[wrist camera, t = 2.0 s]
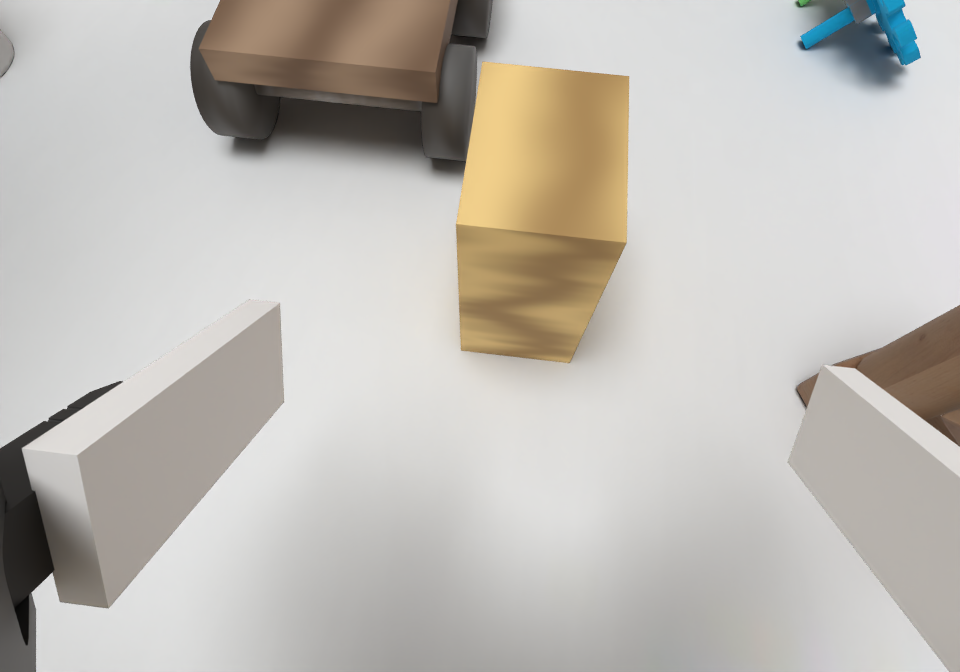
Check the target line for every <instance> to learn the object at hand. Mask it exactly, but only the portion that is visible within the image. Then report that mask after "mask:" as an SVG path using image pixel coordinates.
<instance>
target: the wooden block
mask: <svg viewBox="0 0 960 672" xmlns="http://www.w3.org/2000/svg"><path fill="white" fill-rule="evenodd" d="M832 366H838V367H847V368H855V369H856V370H858V371H859V372H860V373H862V374H863V375H864V376H866V377H867V378H868V379H870V380H871V381H872V382H874V383H875V384H876V385H878V386H879V387H880V388H882V389H883V390H885V391H886V392H887V393H889V394H890V395H891V396H893V397H894V398H895V399H897V400H898V401H899V402H901V403H902V404H903V405H905V406H906V407H907V408H909V409H910V410H911V411H913V412H914V413H915V414H917V415H918V416H919V417H921V418H922V419H923V420H925V421H926V422H927V423H929V424H930V425H931V426H933V427H934V428H935V429H937V430H938V431H939V432H941V433H942V434H943V435H945V436H946V437H947V438H949V439H950V440H951V441H953V442H954V443H955V444H957V445H958V446H959V447H960V305H959V306H957V307H955V308H954V309H952V310H950V311H948V312H946V313H945V314H943V315H941V316H939V317H937V318H935V319H934V320H932V321H930V322H928V323H926V324H924V325H923V326H921V327H919V328H917V329H915V330H914V331H912V332H910V333H908V334H906V335H904V336H903V337H901V338H899V339H897V340H895V341H894V342H892V343H890V344H888V345H886V346H884V347H883V348H880V349H877V350H874V351H871V352H868V353H865V354H862V355H859V356H856V357H853V358H851V359H848V360H845V361H842V362H839V363H836V364H833V365H832ZM819 373H820V372H819ZM819 373H818V374H816V375H814V376H813V377H811V378H809V379H807V380H806V381H804V382H802V383H800V384H799V386H798V387H797V389H798V392H799V394H800V396H801V397H802V399H803V401H804V402H805V404H806V406H808V404H809V401H810V398H811V395H812V392H813V389H814V387H815V384H816V381H817V378H818V375H819ZM941 415H942V416H941Z"/></svg>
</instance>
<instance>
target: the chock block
mask: <svg viewBox="0 0 960 672" xmlns="http://www.w3.org/2000/svg"><path fill="white" fill-rule="evenodd" d="M628 119H629V76H621V75H611V74H601V73H591V72H581V71H571V70H561V69H551V68H541V67H531V66H521V65H511V64H501V63H492V62H482V68H481V74H480V80H479V86H478V92H477V98H476V105H475V111H474V117H473V123H472V129H471V135H470V142H469V148H468V154H467V160H466V166H465V172H464V179H463V185H462V191H461V197H460V203H459V209H458V216H457V222H456V233H457V260H458V286H459V312H460V338H461V350H462V351H470V352H479V353H487V354H496V355H505V356H513V357H522V358H530V359H539V360H547V361H556V362H565V363H570V361H571V359H572V357H573V355H574V353H575V350H576V348H577V346H578V344H579V342H580V340H581V338H582V336H583V334H584V331H585V329H586V327H587V325H588V323H589V321H590V319H591V317H592V315H593V312H594V310H595V308H596V306H597V304H598V302H599V300H600V298H601V296H602V293H603V291H604V289H605V287H606V285H607V283H608V281H609V279H610V277H611V274H612V272H613V270H614V268H615V266H616V264H617V262H618V260H619V258H620V255H621V253H622V251H623V249H624V247H625V245H626V243H627V182H628Z"/></svg>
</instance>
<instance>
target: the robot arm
mask: <svg viewBox="0 0 960 672" xmlns="http://www.w3.org/2000/svg"><path fill="white" fill-rule="evenodd" d="M283 403H284V388H283V365H282V341H281V317H280V303H277V302H268V301H259V300H250V299H249V300H248V301H246V302H245V303H243V304H242V305H240V306H238V307H237V308H235V309H234V310H232V311H231V312H229V313H228V314H226V315H225V316H223V317H222V318H220V319H219V320H217V321H216V322H214V323H213V324H211V325H209V326H208V327H206V328H205V329H203V330H202V331H200V332H199V333H197V334H196V335H194V336H193V337H191V338H190V339H188V340H187V341H185V342H183V343H182V344H180V345H179V346H177V347H176V348H174V349H173V350H171V351H170V352H168V353H167V354H165V355H164V356H162V357H161V358H159V359H158V360H156V361H154V362H153V363H151V364H150V365H148V366H147V367H145V368H144V369H142V370H141V371H139V372H138V373H136V374H135V375H133V376H132V377H130V378H129V379H127V380H125V381H124V382H122V381H119V382H116V383H113V384H111V385H108V386H105V387H103V388H100V389H97V390H94V391H92V392H89V393H88V394H86V395H85V396H83V397H82V398H80V399H78V400H77V401H75V402H74V403H72V404H70V405H69V406H68V408H67V409H62V410H61V411H59V412H58V413H56V414H54V415H53V416H51V417H50V418H49V420H48V422H47V421H43V422H42V423H40V424H39V425H37V426H35V427H34V428H32V429H31V430H29V431H27V432H26V433H24V434H23V435H21V436H19V437H18V438H16V439H15V440H13V441H11V442H10V443H8V444H7V445H5V446H4V447H2V448H0V672H36V608H35V605H34V601H33V597H32V594H31V592H32V591H33V590H34V589H35V588H36V587H38V586H39V585H40V584H41V583H42V582H43V581H44V580H45V579H46V578H47V577H48V576H49V575H50V574H51V573H52V572H53V576H54V580H55V584H56V588H57V592H58V596H59V600H60V602H64V603H71V604H79V605H86V606H94V607H101V608H108V609H109V608H110V606H111V605H112V604H113V603H114V602H115V600H116V599H117V598H118V597H119V596H120V595H121V593H122V592H123V591H124V590H125V589H126V588H127V586H128V585H129V584H130V583H131V582H132V580H133V579H134V578H135V577H136V576H137V575H138V573H139V572H140V571H141V570H142V569H143V568H144V566H145V565H146V564H147V563H148V562H149V560H150V559H151V558H152V557H153V556H154V555H155V553H156V552H157V551H158V550H159V549H160V547H161V546H162V545H163V544H164V543H165V542H166V540H167V539H168V538H169V537H170V536H171V535H172V533H173V532H174V531H175V530H176V529H177V527H178V526H179V525H180V524H181V523H182V522H183V520H184V519H185V518H186V517H187V516H188V514H189V513H190V512H191V511H192V510H193V509H194V507H195V506H196V505H197V504H198V503H199V502H200V500H201V499H202V498H203V497H204V496H205V494H206V493H207V492H208V491H209V490H210V489H211V487H212V486H213V485H214V484H215V483H216V482H217V480H218V479H219V478H220V477H221V476H222V474H223V473H224V472H225V471H226V470H227V469H228V467H229V466H230V465H231V464H232V463H233V461H234V460H235V459H236V458H237V457H238V456H239V454H240V453H241V452H242V451H243V450H244V449H245V447H246V446H247V445H248V444H249V443H250V441H251V440H252V439H253V438H254V437H255V436H256V434H257V433H258V432H259V431H260V430H261V428H262V427H263V426H264V425H265V424H266V423H267V421H268V420H269V419H270V418H271V417H272V416H273V414H274V413H275V412H276V411H277V410H278V408H279V407H280V406H281V405H282V404H283ZM788 464H789V465H790V466H791V467H792V469H793V470H794V471H795V473H796V474H797V475H798V476H799V478H800V479H801V480H802V482H803V483H804V484H805V486H806V487H807V488H808V489H809V491H810V492H811V493H812V495H813V496H814V497H815V499H816V500H817V501H818V502H819V504H820V505H821V506H822V508H823V509H824V510H825V511H826V513H827V514H828V515H829V517H830V518H831V519H832V521H833V522H834V523H835V524H836V526H837V527H838V528H839V530H840V531H841V532H842V534H843V535H844V536H845V537H846V539H847V540H848V541H849V543H850V544H851V545H852V546H853V548H854V549H855V550H856V552H857V553H858V554H859V556H860V557H861V558H862V559H863V561H864V562H865V563H866V565H867V566H868V567H869V568H870V570H871V571H872V572H873V574H874V575H875V576H876V578H877V579H878V580H879V581H880V583H881V584H882V585H883V587H884V588H885V589H886V591H887V592H888V593H889V594H890V596H891V597H892V598H893V600H894V601H895V602H896V603H897V605H898V606H899V607H900V609H901V610H902V611H903V613H904V614H905V615H906V616H907V618H908V619H909V620H910V622H911V623H912V624H913V626H914V627H915V628H916V629H917V631H918V632H919V633H920V635H921V636H922V637H923V638H924V640H925V641H926V642H927V644H928V645H929V646H930V648H931V649H932V650H933V651H934V653H935V654H936V655H937V657H938V658H939V659H940V660H941V662H942V663H943V664H944V666H945V667H946V668H947V670H948V671H949V672H960V447H959V446H958V445H957V444H955V443H954V442H953V441H951V440H950V439H949V438H947V437H946V436H945V435H943V434H942V433H941V432H939V431H938V430H937V429H935V428H934V427H933V426H931V425H930V424H929V423H927V422H926V421H925V420H923V419H922V418H921V417H919V416H918V415H917V414H915V413H914V412H913V411H911V410H910V409H909V408H907V407H906V406H905V405H903V404H902V403H901V402H899V401H898V400H897V399H895V398H894V397H893V396H891V395H890V394H889V393H887V392H886V391H885V390H883V389H882V388H880V387H879V386H878V385H876V384H875V383H874V382H872V381H871V380H870V379H868V378H867V377H866V376H864V375H863V374H862V373H860V372H859V371H858V370H856V369H855V368H847V367H838V366H829V365H822V367H821V370H820V373H819V375H818V378H817V381H816V384H815V387H814V389H813V392H812V395H811V398H810V401H809V404H808V406H807V409H806V412H805V415H804V418H803V420H802V423H801V426H800V429H799V432H798V434H797V437H796V440H795V443H794V446H793V449H792V451H791V454H790V457H789V460H788Z"/></svg>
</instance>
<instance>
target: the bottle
mask: <svg viewBox="0 0 960 672" xmlns="http://www.w3.org/2000/svg"><path fill="white" fill-rule="evenodd" d="M13 57H14V49H13V45H12V43H11V42H10V40H9V39H8V38H7V37H6V36H5V34H4V33H3V32H2V31H1V30H0V77H1V76H2V74H4V73H5V72H6V71H7V70H8V68H9V67H10V63H11V62H12V60H13Z"/></svg>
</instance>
